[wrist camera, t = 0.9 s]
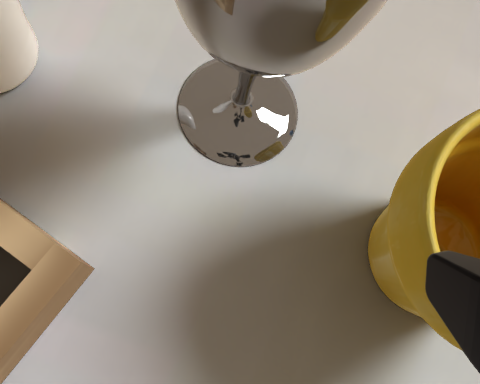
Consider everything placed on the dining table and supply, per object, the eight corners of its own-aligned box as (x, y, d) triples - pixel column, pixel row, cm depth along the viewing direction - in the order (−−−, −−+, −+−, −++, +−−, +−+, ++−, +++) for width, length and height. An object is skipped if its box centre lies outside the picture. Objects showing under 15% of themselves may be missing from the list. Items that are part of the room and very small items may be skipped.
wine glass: (259, 30, 28) (337, -273, 13) (329, 134, 26) (499, -79, 12) (145, 84, 26) (94, -201, 12) (215, 198, 25) (254, 37, 10)
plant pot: (470, 393, 23) (659, 447, 14) (302, 290, 24) (376, 275, 14) (533, 229, 26) (724, 182, 17) (382, 139, 27) (487, 46, 17)
